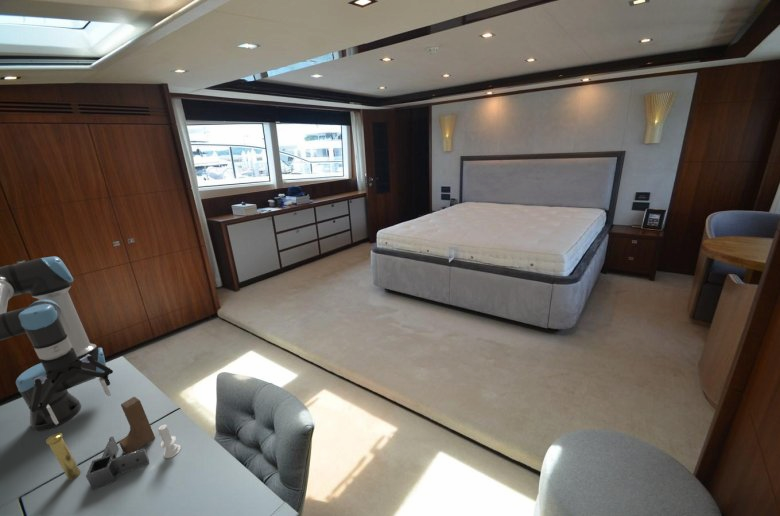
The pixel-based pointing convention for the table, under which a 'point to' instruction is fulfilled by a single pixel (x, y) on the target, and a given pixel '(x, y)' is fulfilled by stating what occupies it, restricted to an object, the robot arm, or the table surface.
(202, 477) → the table surface
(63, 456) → the hinge pin
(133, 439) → the wooden block
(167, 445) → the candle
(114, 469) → the square tube bracket
